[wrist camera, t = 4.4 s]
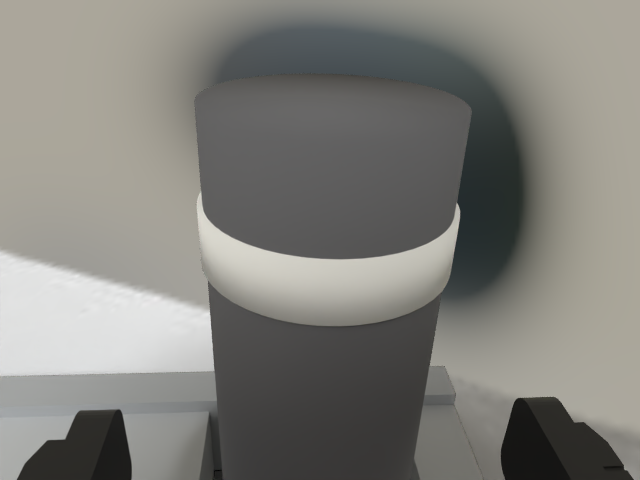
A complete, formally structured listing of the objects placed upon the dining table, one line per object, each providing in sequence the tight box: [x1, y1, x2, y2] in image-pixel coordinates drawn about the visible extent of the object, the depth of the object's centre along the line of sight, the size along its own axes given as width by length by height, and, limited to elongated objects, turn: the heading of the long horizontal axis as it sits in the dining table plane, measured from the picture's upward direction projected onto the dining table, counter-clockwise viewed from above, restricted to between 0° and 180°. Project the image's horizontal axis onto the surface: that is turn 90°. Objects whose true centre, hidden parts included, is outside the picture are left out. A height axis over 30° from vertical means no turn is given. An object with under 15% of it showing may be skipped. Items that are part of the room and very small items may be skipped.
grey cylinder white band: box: [195, 74, 471, 480], centre depth 13 cm, size 5×5×15 cm
